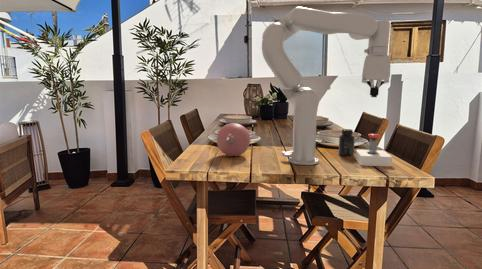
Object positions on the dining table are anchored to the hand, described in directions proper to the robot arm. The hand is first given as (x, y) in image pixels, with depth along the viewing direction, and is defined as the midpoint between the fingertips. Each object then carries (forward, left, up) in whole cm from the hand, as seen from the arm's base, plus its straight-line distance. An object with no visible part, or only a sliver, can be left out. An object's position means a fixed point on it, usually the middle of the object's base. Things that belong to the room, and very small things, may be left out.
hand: (373, 97), depth 132 cm
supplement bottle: (-8, +10, -28) cm, 31 cm away
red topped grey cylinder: (+1, -2, -28) cm, 28 cm away
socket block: (+1, -2, -28) cm, 28 cm away
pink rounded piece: (-60, -3, -28) cm, 66 cm away
